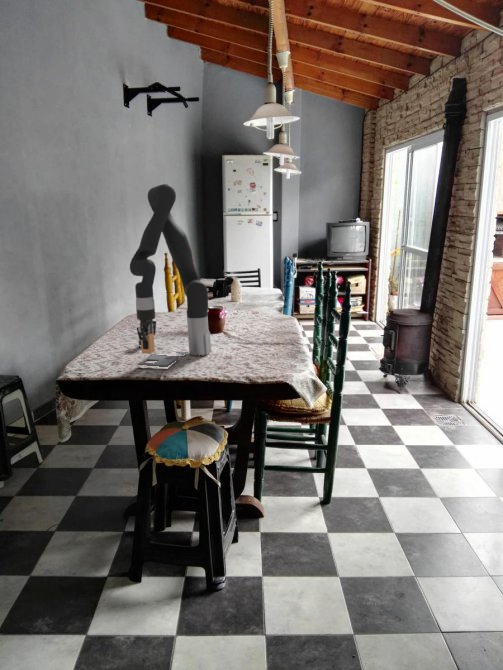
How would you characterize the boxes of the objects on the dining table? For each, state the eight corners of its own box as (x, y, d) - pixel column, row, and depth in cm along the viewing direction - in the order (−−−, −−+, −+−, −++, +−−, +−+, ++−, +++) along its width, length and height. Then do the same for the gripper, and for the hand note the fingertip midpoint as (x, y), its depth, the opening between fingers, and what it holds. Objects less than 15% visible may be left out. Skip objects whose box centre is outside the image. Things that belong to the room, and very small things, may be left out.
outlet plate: (178, 360, 224) (178, 355, 224) (167, 369, 212) (166, 364, 212) (151, 359, 228) (150, 354, 227) (138, 368, 215) (137, 363, 215)
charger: (154, 351, 218) (153, 332, 216) (150, 353, 215) (149, 334, 212) (146, 350, 219) (144, 331, 217) (141, 353, 216) (140, 334, 213)
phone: (162, 353, 239) (161, 350, 238) (188, 354, 235) (188, 351, 235) (156, 356, 233) (156, 354, 233) (183, 358, 230) (183, 355, 229)
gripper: (146, 311, 205) (149, 352, 209) (161, 304, 218) (163, 343, 222) (128, 310, 206) (132, 351, 211) (144, 304, 220) (147, 342, 224)
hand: (148, 347), depth 216 cm, fingers closed on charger, 4 cm apart
